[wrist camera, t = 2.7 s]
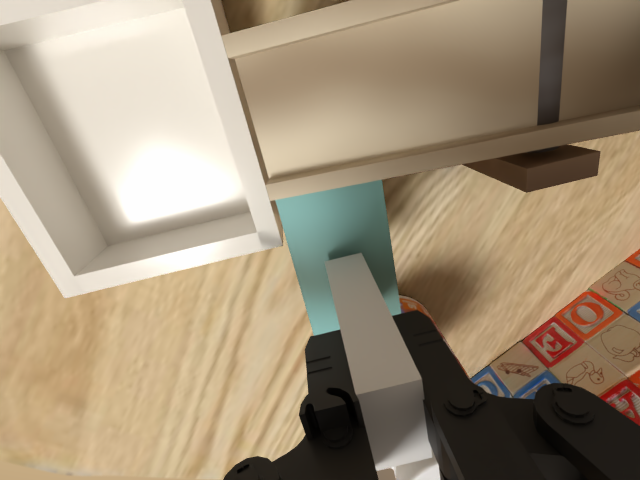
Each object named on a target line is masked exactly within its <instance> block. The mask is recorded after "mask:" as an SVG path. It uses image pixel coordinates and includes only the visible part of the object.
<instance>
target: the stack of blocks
mask: <svg viewBox="0 0 640 480" xmlns="http://www.w3.org/2000/svg"><path fill="white" fill-rule="evenodd" d="M471 381H472V382H473V383H474V384H476V385H478V386H480V387H482V388H483V389H484V390H485V391H486V392H487V393H490V394H493V395H496V396H500V397H507V398H524V399H534V398H535V394H536V392H537V391H538V390H539V389H540V388H541V387H542V386H545V385H548V384H552V383H568V384H571V385H575V386H578V387H582V388H584V389H586V390H587V391H589V392H591V393H593V394H595V395H596V396H598V397H599V398H601V399H602V400H604V401H605V402H606V403H608V404H609V405H611V406H612V407H613V408H615V409H616V410H618V411H619V412H621V413H622V414H623V415H625V416H626V417H628V418H629V419H631V420H632V421H633V422H635V423H636V424H638V425H639V426H640V249H639V250H638V251H636V252H635V253H634V254H632V255H631V256H630V257H628V258H627V259H626V260H625V261H623V262H622V263H620V264H619V265H618V266H616V267H615V268H614V269H612V270H611V271H610V272H608V273H607V274H606V275H604V276H603V277H602V278H600V279H599V280H598V281H597V282H595V283H594V284H592V285H591V286H590V287H589V289H588V290H587V291H586V292H584V293H582V294H581V295H580V296H579V297H578V298H577V299H575V300H574V301H573V302H571V303H570V304H569V305H567V306H566V307H565V308H563V309H562V310H561V311H559V312H558V313H557V314H556V315H555V316H554V317H553V318H551V319H550V320H548V321H547V322H546V323H544V324H543V325H542V326H540V327H539V328H538V329H536V330H535V331H534V332H533V333H531V334H530V335H529V336H527V337H526V338H525V339H524V340H523V341H522V342H519V343H517V344H516V345H515V346H513V347H512V348H511V349H510V350H508V351H507V352H506V353H504V354H503V355H502V356H500V357H499V358H498V359H496V360H495V361H494V362H492V363H491V364H490V365H489V366H487V367H486V368H484V369H483V370H482V371H481V372H479V373H478V374H476V375H475V376H474V377H473V378H471Z"/></svg>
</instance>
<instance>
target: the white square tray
mask: <svg viewBox="0 0 640 480" xmlns="http://www.w3.org/2000/svg"><path fill="white" fill-rule="evenodd" d="M229 33H230V29H229V26H228V22H227V19H226V15H225V12H224V8H223V5H222V1H221V0H0V198H1V199H2V201H3V202H4V204H5V205H6V207H7V209H8V210H9V212H10V213H11V215H12V216H13V218H14V220H15V221H16V223H17V224H18V226H19V227H20V229H21V231H22V232H23V234H24V235H25V237H26V238H27V240H28V242H29V243H30V245H31V246H32V248H33V249H34V251H35V252H36V254H37V256H38V257H39V259H40V260H41V262H42V263H43V265H44V267H45V268H46V270H47V271H48V273H49V274H50V276H51V278H52V279H53V281H54V282H55V284H56V285H57V287H58V289H59V290H60V292H61V293H62V295H63V296H64V298H68V297H72V296H76V295H81V294H85V293H89V292H93V291H97V290H101V289H105V288H110V287H114V286H118V285H122V284H126V283H130V282H134V281H138V280H143V279H147V278H151V277H155V276H159V275H163V274H167V273H171V272H176V271H180V270H184V269H188V268H192V267H196V266H200V265H205V264H209V263H213V262H217V261H221V260H225V259H229V258H233V257H238V256H242V255H246V254H250V253H254V252H258V251H262V250H267V249H271V248H275V247H279V246H283V226H282V222H281V219H280V215H279V212H278V208H277V205H276V201H275V200H273V201H270V199H269V196H268V193H267V189H266V186H265V185H266V183H267V182H268V180H269V177H268V173H267V170H266V166H265V163H264V159H263V156H262V152H261V149H260V145H259V142H258V138H257V135H256V131H255V128H254V125H253V121H252V118H251V114H250V111H249V107H248V104H247V100H246V97H245V93H244V90H243V86H242V83H241V79H240V76H239V72H238V69H237V65H236V62H235V59H230V58H228V56H227V53H226V50H225V46H224V43H223V39H222V35H226V34H229Z"/></svg>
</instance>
